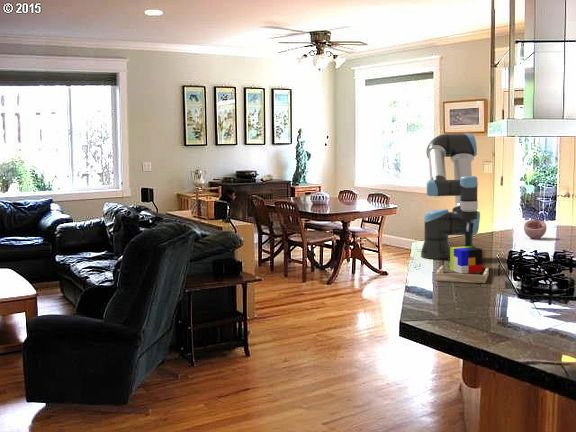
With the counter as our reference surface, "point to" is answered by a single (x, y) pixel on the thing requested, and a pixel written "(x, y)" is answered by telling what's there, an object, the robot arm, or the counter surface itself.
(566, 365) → the counter surface
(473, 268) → the puzzle toy
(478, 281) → the tray
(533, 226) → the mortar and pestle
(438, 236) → the robot arm
